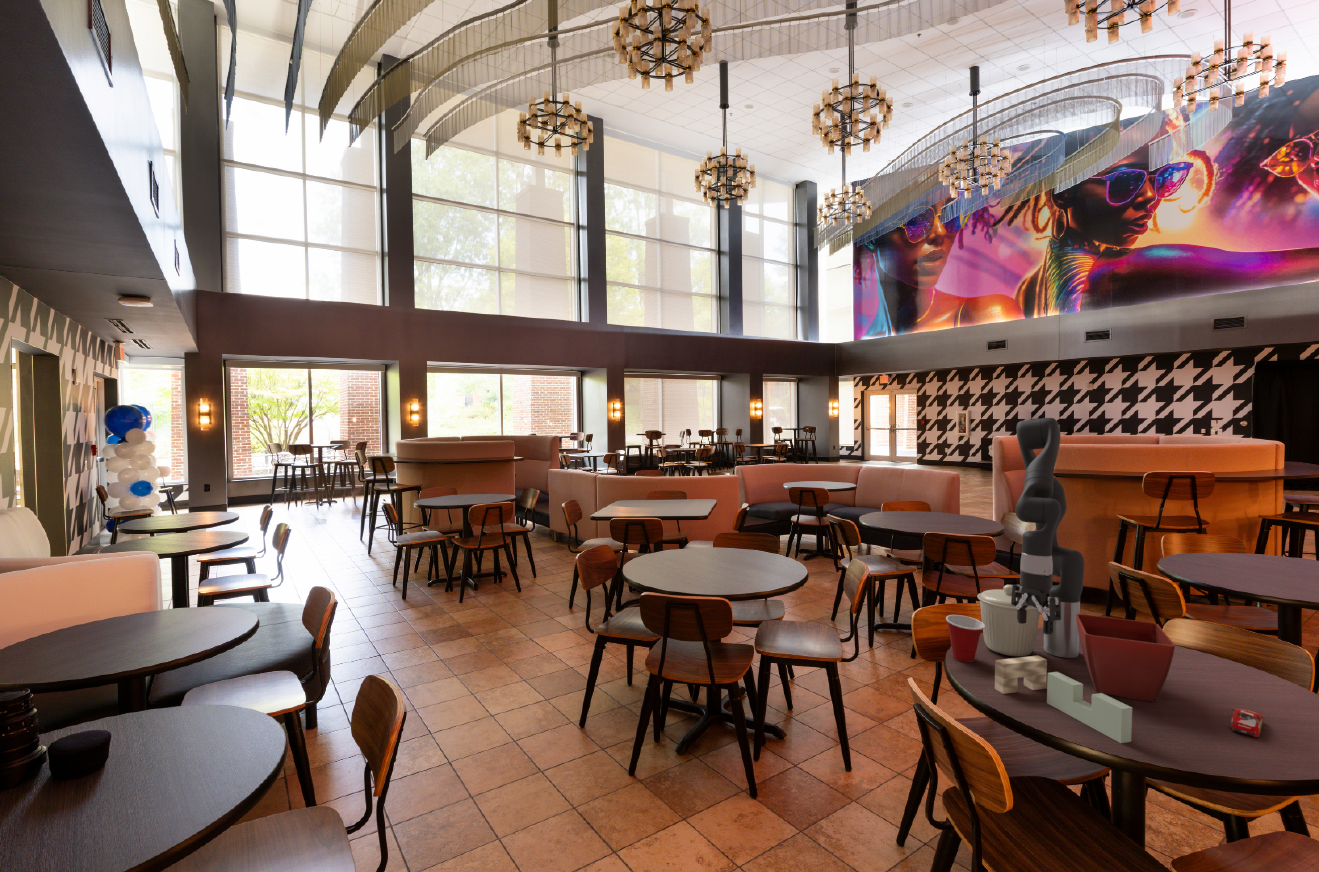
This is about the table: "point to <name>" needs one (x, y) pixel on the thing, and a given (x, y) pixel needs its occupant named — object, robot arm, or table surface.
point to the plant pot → (1125, 656)
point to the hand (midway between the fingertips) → (1034, 628)
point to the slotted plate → (1020, 673)
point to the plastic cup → (964, 636)
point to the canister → (1007, 623)
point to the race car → (1247, 722)
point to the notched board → (1090, 707)
